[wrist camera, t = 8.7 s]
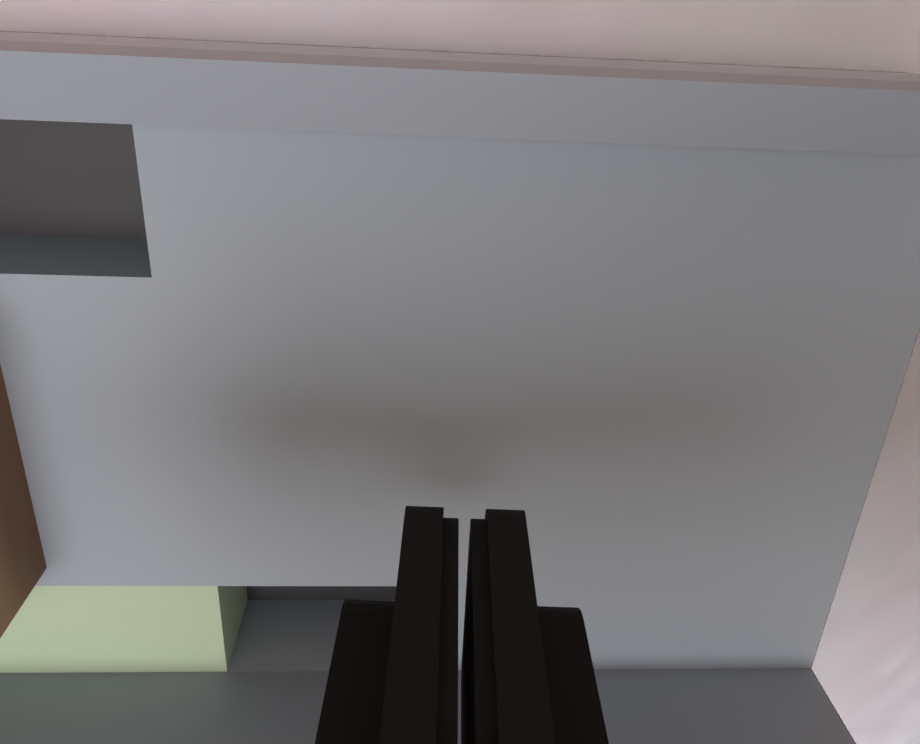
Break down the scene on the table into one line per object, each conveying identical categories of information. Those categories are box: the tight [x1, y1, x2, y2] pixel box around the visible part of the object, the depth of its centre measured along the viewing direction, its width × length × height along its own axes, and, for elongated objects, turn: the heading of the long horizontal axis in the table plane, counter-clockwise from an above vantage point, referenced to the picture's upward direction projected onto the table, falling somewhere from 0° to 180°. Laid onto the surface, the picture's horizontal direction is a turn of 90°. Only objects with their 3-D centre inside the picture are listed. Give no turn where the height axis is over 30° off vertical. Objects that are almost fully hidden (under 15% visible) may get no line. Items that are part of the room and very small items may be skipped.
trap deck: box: [0, 31, 920, 744], centre depth 14 cm, size 22×13×4 cm, turn 87°
